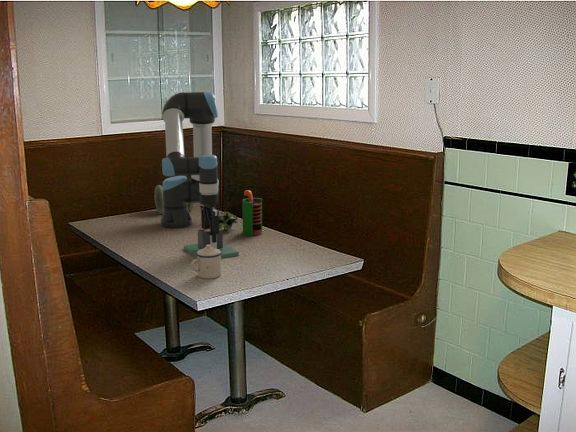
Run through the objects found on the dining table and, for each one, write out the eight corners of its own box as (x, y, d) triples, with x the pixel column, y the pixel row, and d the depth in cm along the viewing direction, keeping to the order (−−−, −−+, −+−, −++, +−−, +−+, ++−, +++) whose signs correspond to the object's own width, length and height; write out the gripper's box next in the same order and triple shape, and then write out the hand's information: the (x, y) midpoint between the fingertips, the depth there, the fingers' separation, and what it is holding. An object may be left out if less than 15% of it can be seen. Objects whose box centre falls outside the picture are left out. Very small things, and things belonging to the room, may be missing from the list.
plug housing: (198, 248, 267) (197, 229, 265) (218, 245, 271) (217, 226, 269) (203, 251, 262) (202, 232, 260) (223, 248, 267) (222, 229, 265)
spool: (164, 216, 329) (162, 188, 326) (155, 211, 342) (153, 183, 338) (194, 213, 337) (193, 185, 333) (184, 207, 350) (183, 180, 346)
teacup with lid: (214, 269, 245) (213, 240, 242) (226, 276, 237) (225, 245, 235) (185, 275, 238) (184, 245, 235) (197, 282, 231) (196, 251, 228)
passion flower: (225, 240, 305) (237, 218, 307) (233, 242, 295) (245, 219, 297) (205, 229, 300) (217, 207, 303) (212, 230, 290) (225, 207, 293)
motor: (259, 236, 291) (258, 193, 286) (240, 235, 293) (239, 192, 288) (264, 230, 301) (263, 189, 296) (245, 230, 302) (245, 188, 298)
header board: (183, 249, 272) (183, 239, 270) (218, 243, 279) (217, 233, 278) (202, 261, 255) (202, 250, 254) (238, 255, 263) (238, 244, 262)
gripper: (226, 196, 256) (228, 251, 261) (208, 188, 271) (210, 241, 276) (209, 198, 252) (211, 254, 257) (191, 190, 267) (193, 244, 272)
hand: (210, 247), depth 267 cm, fingers closed on plug housing, 5 cm apart
